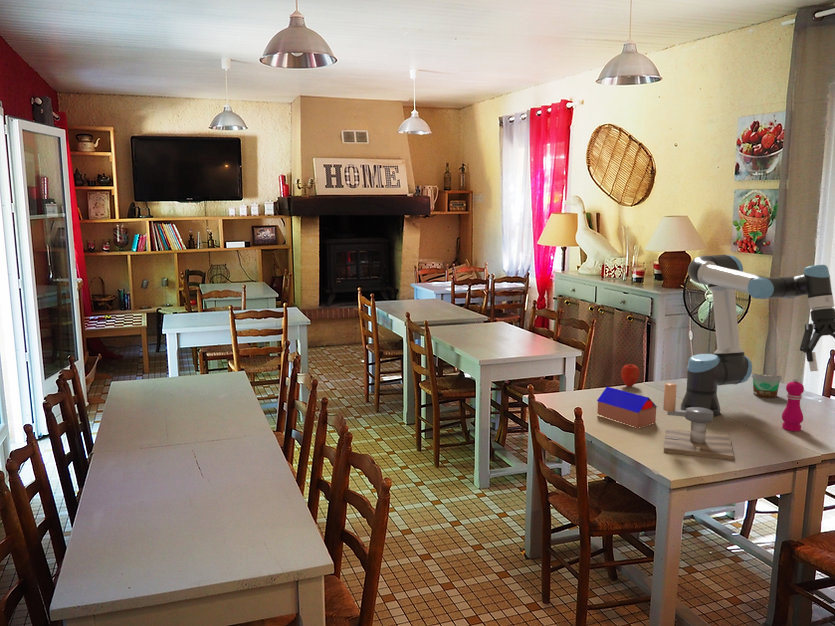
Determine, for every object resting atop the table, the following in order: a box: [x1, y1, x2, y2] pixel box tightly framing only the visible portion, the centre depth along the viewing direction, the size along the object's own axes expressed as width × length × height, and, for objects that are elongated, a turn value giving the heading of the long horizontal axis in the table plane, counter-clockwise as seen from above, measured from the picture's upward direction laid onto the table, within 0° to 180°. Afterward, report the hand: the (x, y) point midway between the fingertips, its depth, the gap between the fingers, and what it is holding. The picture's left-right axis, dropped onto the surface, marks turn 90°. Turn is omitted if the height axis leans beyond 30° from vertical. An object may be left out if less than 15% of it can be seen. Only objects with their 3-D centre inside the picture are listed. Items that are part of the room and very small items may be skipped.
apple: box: [620, 363, 640, 388], centre depth 320 cm, size 9×8×11 cm
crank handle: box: [662, 382, 714, 424], centre depth 242 cm, size 16×9×12 cm, turn 69°
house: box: [596, 386, 658, 429], centre depth 271 cm, size 12×20×12 cm, turn 36°
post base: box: [663, 421, 735, 461], centre depth 242 cm, size 22×22×10 cm
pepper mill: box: [781, 377, 805, 432], centre depth 259 cm, size 7×7×20 cm
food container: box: [750, 372, 783, 399], centre depth 302 cm, size 12×6×10 cm, turn 73°
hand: (831, 369), depth 236 cm, fingers open, 13 cm apart
